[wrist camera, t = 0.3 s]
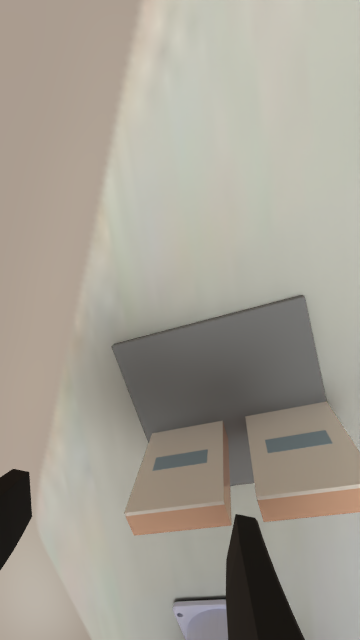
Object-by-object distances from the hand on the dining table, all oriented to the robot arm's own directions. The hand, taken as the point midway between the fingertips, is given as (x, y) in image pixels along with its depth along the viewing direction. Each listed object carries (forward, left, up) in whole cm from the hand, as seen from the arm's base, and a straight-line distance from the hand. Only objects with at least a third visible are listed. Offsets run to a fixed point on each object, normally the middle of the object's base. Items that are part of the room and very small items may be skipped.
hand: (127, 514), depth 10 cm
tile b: (-4, 0, -9) cm, 10 cm away
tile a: (-4, -7, -9) cm, 12 cm away
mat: (-3, -3, -10) cm, 11 cm away
